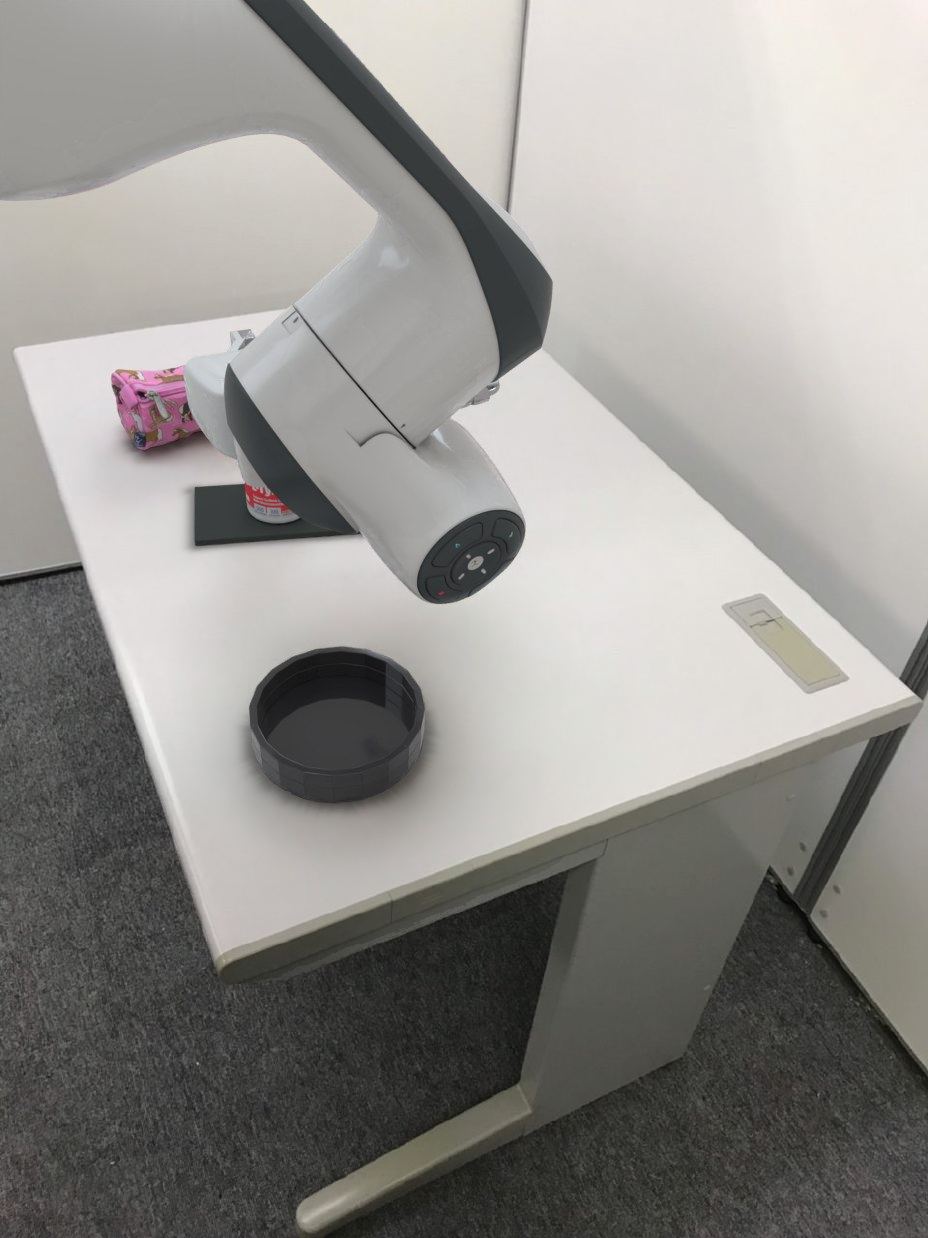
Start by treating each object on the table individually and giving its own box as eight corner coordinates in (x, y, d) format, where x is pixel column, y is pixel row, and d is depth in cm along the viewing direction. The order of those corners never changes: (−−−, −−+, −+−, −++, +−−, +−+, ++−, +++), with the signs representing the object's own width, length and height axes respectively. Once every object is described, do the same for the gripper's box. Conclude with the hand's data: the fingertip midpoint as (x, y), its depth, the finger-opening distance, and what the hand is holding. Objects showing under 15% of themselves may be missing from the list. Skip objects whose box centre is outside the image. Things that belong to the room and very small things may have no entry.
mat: (195, 545, 92) (194, 540, 92) (195, 491, 99) (194, 486, 98) (362, 533, 95) (362, 528, 95) (352, 481, 102) (352, 476, 101)
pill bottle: (247, 527, 94) (236, 428, 86) (246, 491, 98) (236, 393, 91) (312, 524, 95) (306, 425, 87) (308, 488, 99) (303, 391, 92)
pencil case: (140, 470, 101) (125, 393, 95) (114, 427, 107) (99, 353, 101) (328, 424, 110) (325, 351, 104) (295, 387, 115) (291, 316, 109)
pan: (256, 813, 70) (252, 785, 68) (249, 682, 79) (246, 655, 77) (436, 790, 72) (438, 763, 70) (408, 666, 82) (409, 639, 80)
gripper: (514, 351, 65) (431, 271, 74) (211, 404, 58) (159, 308, 67) (506, 433, 69) (428, 348, 78) (222, 492, 62) (172, 390, 71)
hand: (302, 329), depth 72 cm, fingers open, 8 cm apart
